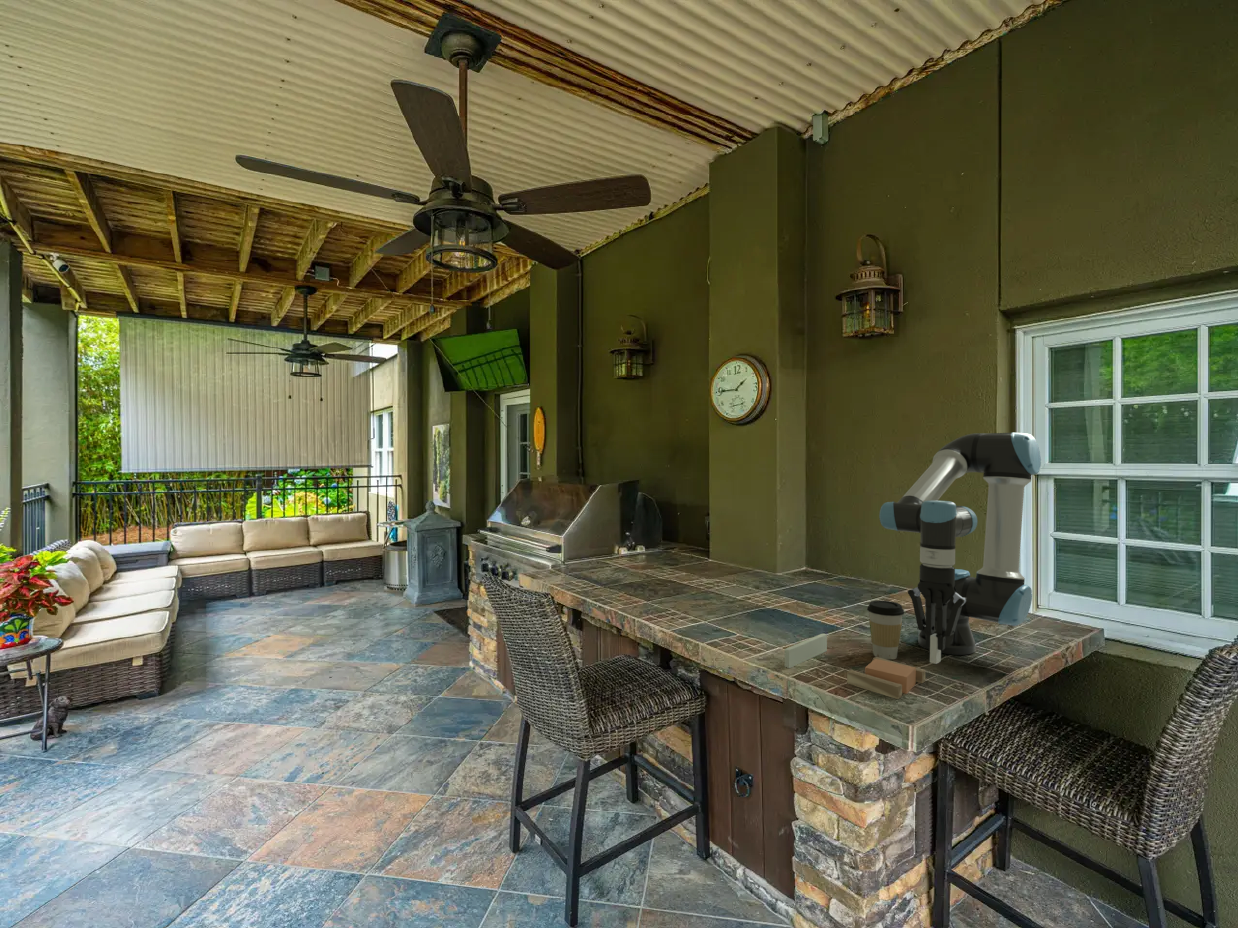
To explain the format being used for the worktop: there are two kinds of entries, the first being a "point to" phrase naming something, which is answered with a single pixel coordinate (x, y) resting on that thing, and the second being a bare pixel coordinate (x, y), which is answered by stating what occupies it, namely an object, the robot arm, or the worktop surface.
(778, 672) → the worktop surface
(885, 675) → the block
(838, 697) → the worktop surface
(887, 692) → the chute
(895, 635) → the coffee cup
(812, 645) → the board
